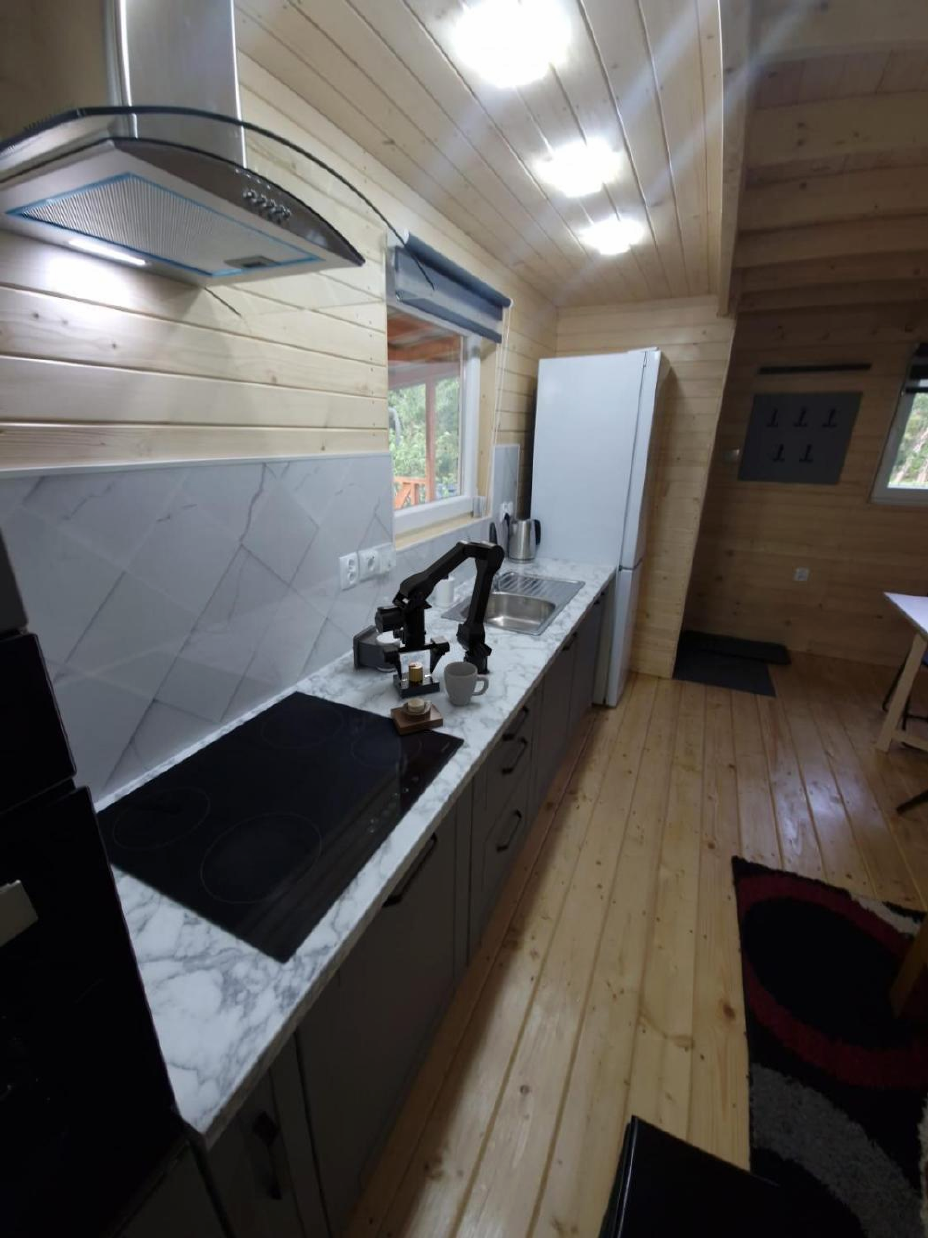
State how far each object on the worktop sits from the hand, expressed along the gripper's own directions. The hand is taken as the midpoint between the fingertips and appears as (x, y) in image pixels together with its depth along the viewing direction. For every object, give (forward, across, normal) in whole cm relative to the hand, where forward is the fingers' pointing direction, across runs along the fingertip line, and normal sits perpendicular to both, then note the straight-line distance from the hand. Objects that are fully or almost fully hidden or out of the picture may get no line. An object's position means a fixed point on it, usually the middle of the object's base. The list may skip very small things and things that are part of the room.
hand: (416, 676), depth 139 cm
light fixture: (+4, +6, -17) cm, 18 cm away
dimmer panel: (+4, 0, 0) cm, 4 cm away
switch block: (+4, +5, +16) cm, 17 cm away
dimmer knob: (+1, 0, 0) cm, 1 cm away
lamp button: (0, +5, +16) cm, 17 cm away
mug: (+4, -10, +12) cm, 16 cm away
